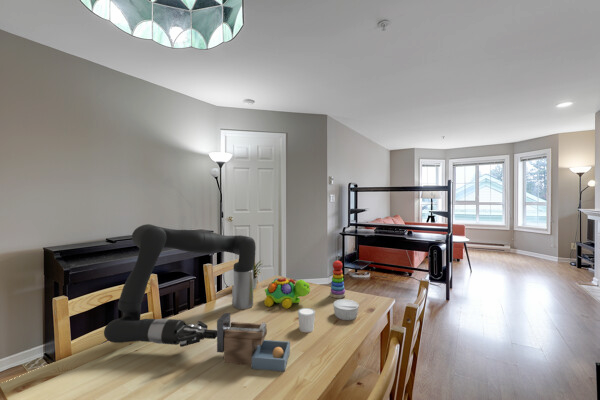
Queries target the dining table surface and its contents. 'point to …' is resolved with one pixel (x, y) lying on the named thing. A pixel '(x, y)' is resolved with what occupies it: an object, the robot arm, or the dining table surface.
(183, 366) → the dining table surface
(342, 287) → the stacking toy
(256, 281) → the house plant
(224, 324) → the pusher
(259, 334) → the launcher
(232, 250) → the robot arm
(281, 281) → the turtle toy
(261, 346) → the blue square tray
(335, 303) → the ramekin
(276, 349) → the ball
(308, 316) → the white cup
